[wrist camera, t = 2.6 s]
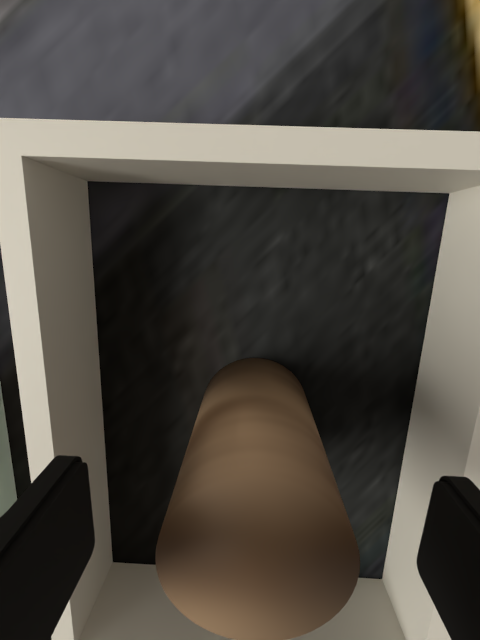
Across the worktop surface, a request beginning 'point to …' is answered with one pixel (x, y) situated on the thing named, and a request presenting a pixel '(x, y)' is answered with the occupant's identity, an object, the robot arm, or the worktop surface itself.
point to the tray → (5, 465)
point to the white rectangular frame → (82, 338)
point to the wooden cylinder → (256, 513)
